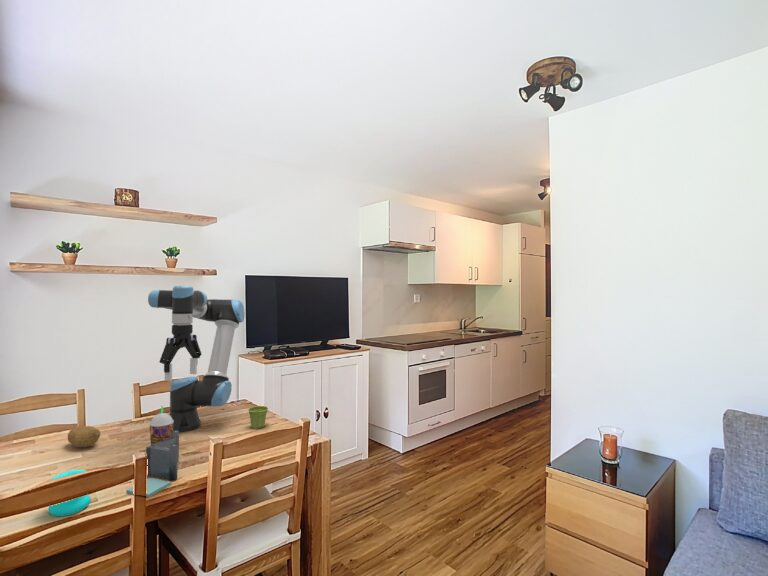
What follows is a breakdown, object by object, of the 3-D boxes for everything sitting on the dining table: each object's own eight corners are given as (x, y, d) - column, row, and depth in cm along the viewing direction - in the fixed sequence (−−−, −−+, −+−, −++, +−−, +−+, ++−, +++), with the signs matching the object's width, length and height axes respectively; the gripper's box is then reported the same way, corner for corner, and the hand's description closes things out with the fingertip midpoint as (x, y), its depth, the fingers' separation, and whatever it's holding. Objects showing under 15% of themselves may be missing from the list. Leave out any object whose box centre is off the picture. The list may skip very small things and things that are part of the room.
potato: (84, 439, 177) (84, 421, 177) (106, 444, 172) (107, 425, 172) (59, 448, 167) (59, 428, 167) (82, 453, 162) (82, 433, 162)
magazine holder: (144, 475, 144) (145, 441, 144) (174, 460, 157) (175, 429, 157) (173, 481, 141) (173, 446, 141) (201, 465, 154) (202, 433, 154)
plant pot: (264, 430, 192) (264, 411, 192) (244, 429, 192) (245, 411, 192) (270, 423, 201) (270, 406, 201) (251, 423, 202) (251, 405, 202)
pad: (126, 493, 132) (126, 489, 132) (149, 480, 141) (149, 477, 141) (148, 497, 130) (148, 494, 130) (170, 484, 138) (170, 481, 138)
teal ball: (78, 465, 129) (98, 472, 125) (78, 497, 129) (97, 505, 125) (41, 478, 120) (61, 486, 116) (40, 512, 120) (60, 521, 116)
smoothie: (147, 463, 155) (148, 410, 155) (150, 454, 162) (151, 404, 162) (172, 459, 158) (173, 407, 158) (173, 451, 166) (174, 402, 166)
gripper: (166, 327, 151) (165, 384, 151) (211, 322, 175) (210, 371, 175) (149, 326, 153) (148, 383, 153) (196, 321, 177) (195, 370, 177)
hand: (181, 377), depth 164 cm, fingers open, 13 cm apart
